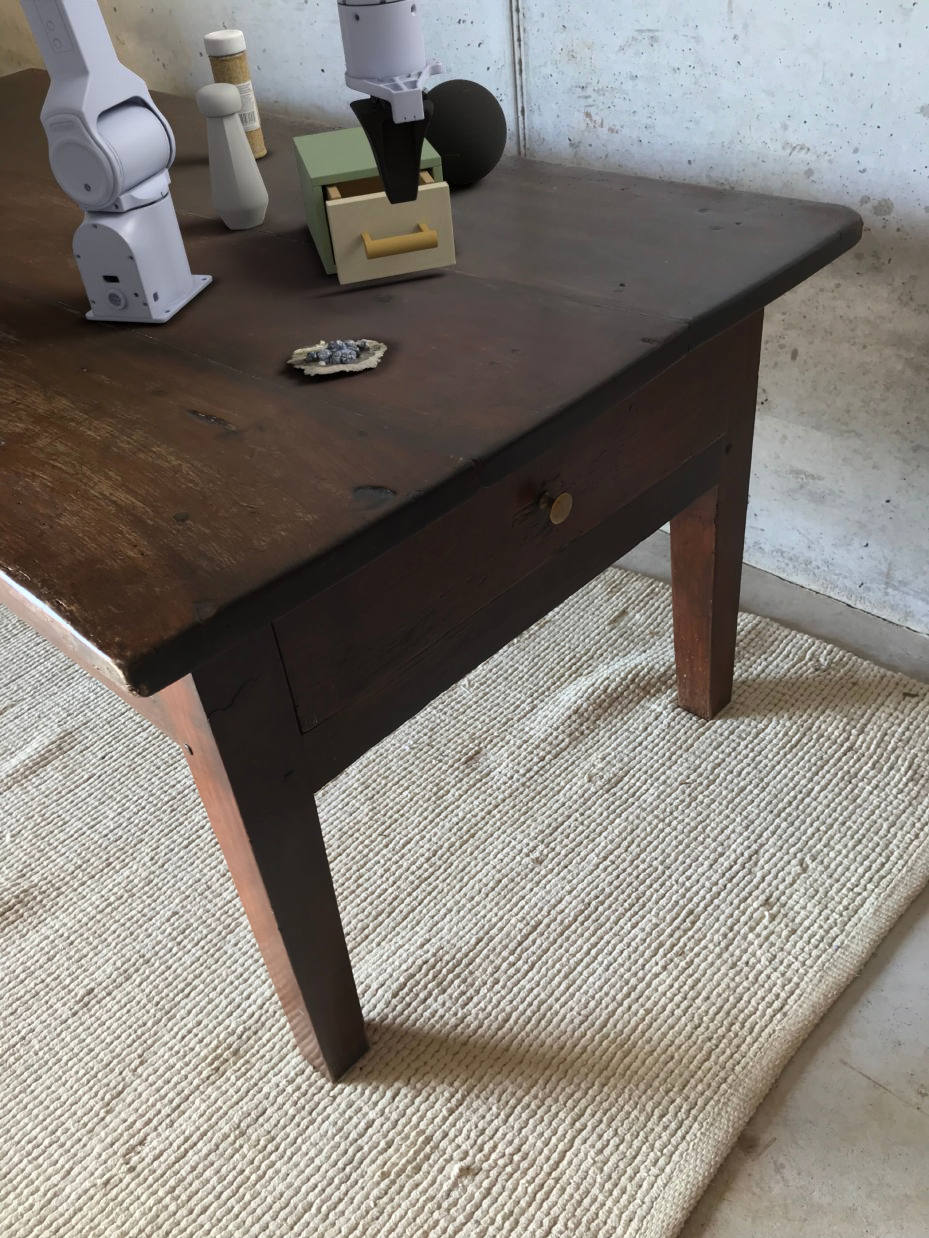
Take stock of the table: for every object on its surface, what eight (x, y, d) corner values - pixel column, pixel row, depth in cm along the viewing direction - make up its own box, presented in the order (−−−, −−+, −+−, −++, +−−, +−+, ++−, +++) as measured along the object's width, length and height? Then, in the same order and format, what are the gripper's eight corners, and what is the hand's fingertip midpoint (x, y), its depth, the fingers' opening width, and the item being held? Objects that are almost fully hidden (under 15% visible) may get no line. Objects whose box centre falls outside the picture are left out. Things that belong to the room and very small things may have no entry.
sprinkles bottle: (265, 149, 127) (241, 26, 118) (268, 159, 124) (243, 33, 115) (229, 154, 127) (202, 32, 118) (230, 165, 123) (202, 39, 115)
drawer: (467, 281, 88) (460, 200, 83) (348, 303, 86) (334, 221, 82) (425, 220, 100) (418, 146, 96) (321, 238, 99) (308, 164, 94)
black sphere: (399, 185, 112) (387, 84, 105) (471, 161, 116) (464, 64, 110) (454, 204, 106) (445, 99, 99) (528, 179, 110) (524, 76, 103)
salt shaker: (261, 232, 104) (231, 93, 96) (209, 233, 105) (175, 95, 97) (280, 212, 108) (253, 77, 100) (230, 213, 109) (199, 79, 101)
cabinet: (449, 253, 95) (440, 156, 90) (327, 275, 94) (310, 177, 88) (419, 208, 106) (409, 119, 100) (308, 227, 104) (292, 137, 98)
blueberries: (274, 363, 81) (269, 341, 79) (359, 330, 84) (356, 308, 83) (319, 392, 76) (314, 368, 75) (406, 356, 80) (403, 333, 78)
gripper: (459, 6, 66) (475, 221, 74) (413, -25, 77) (432, 165, 85) (351, 22, 65) (380, 237, 73) (320, -12, 76) (348, 179, 84)
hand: (402, 200), depth 79 cm, fingers closed
